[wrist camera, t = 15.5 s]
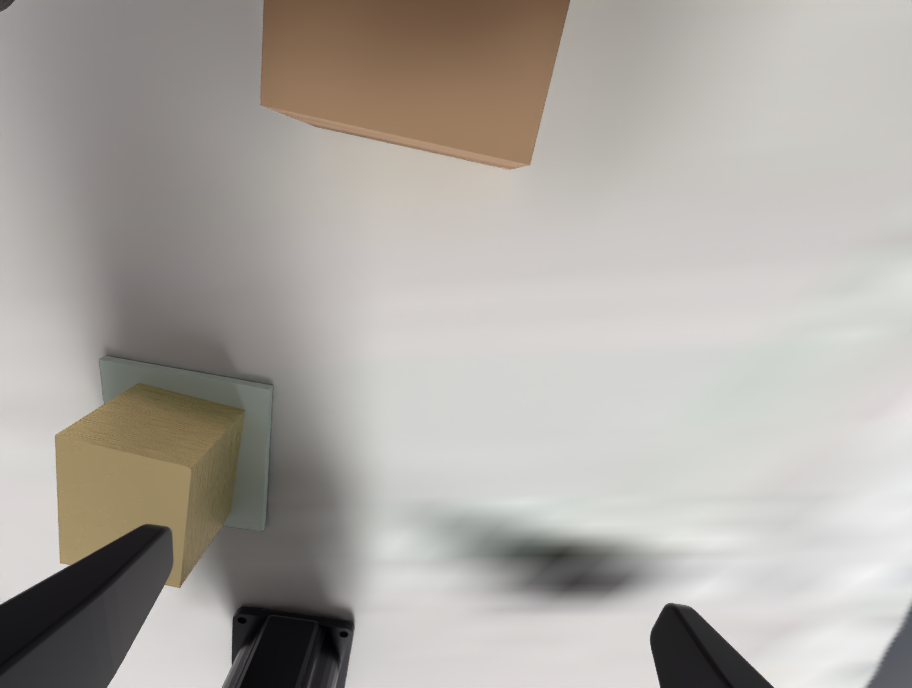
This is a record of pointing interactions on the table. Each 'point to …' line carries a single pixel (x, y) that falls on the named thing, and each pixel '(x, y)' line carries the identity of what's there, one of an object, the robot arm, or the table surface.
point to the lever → (5, 4)
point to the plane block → (416, 71)
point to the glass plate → (223, 390)
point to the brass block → (147, 473)
